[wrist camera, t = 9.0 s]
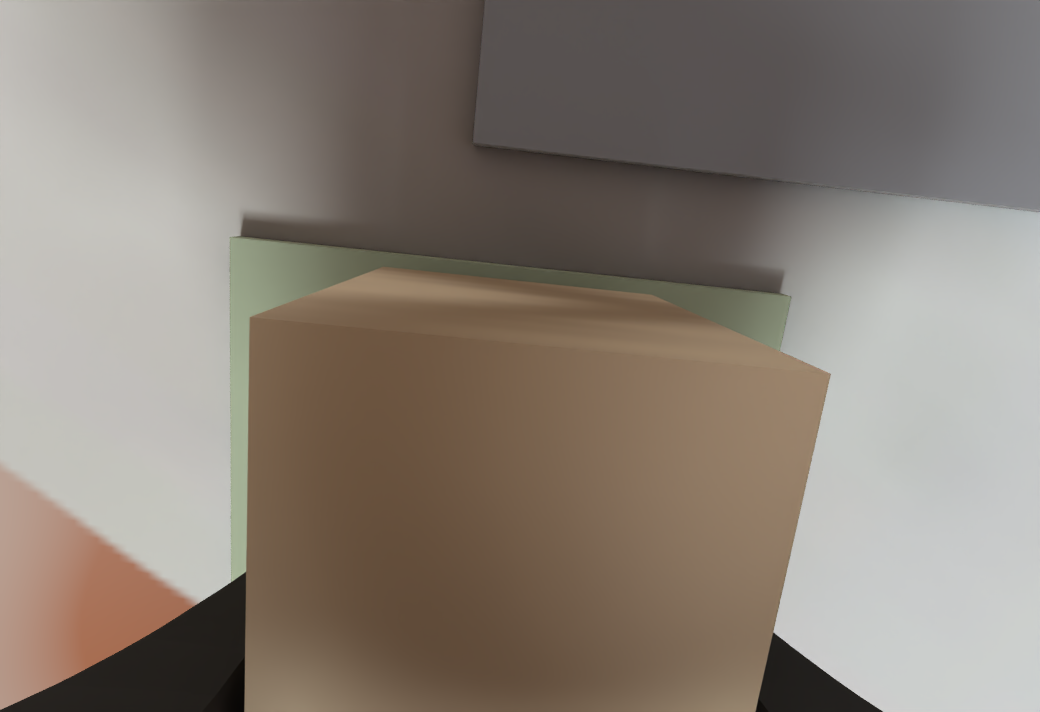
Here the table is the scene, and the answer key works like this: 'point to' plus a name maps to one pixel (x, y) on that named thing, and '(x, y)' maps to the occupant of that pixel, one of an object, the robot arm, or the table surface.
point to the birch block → (515, 499)
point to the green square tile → (310, 268)
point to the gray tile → (776, 90)
